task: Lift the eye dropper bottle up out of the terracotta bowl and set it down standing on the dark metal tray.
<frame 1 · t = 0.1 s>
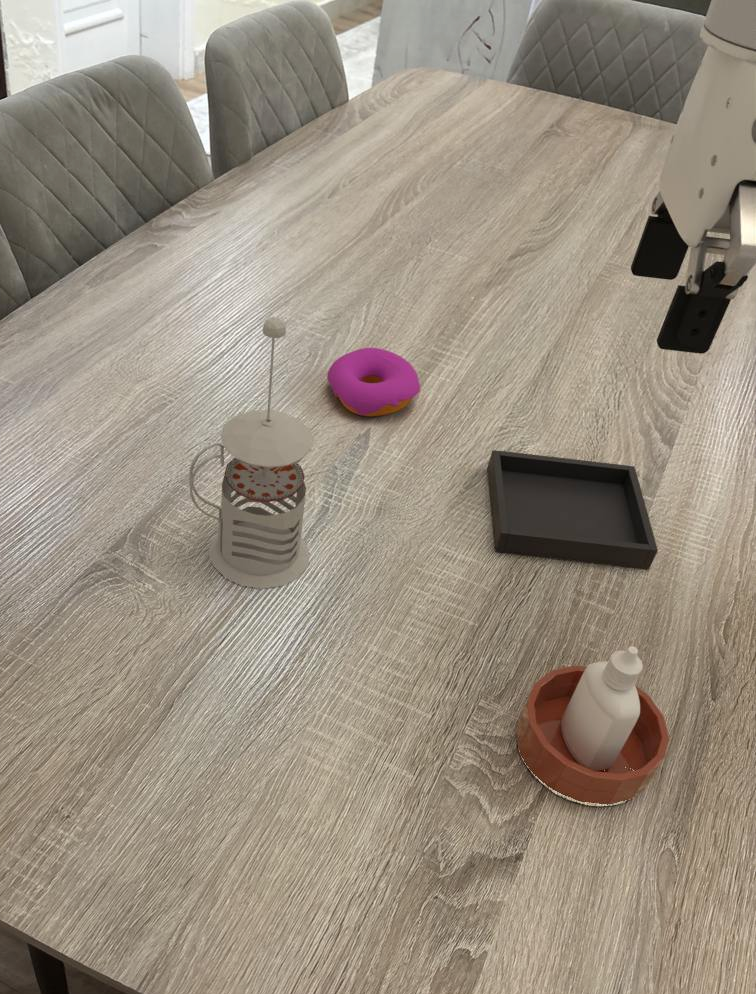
hand: (665, 310, 62), 33 cm above the table, tool pointing down, fingers open, 9 cm apart
eye dropper bottle: (583, 746, 78), resting on bowl
donut: (370, 399, 111), on the table
french press: (250, 554, 91), on the table
bowl: (582, 748, 78), on the table
tray: (564, 516, 99), on the table
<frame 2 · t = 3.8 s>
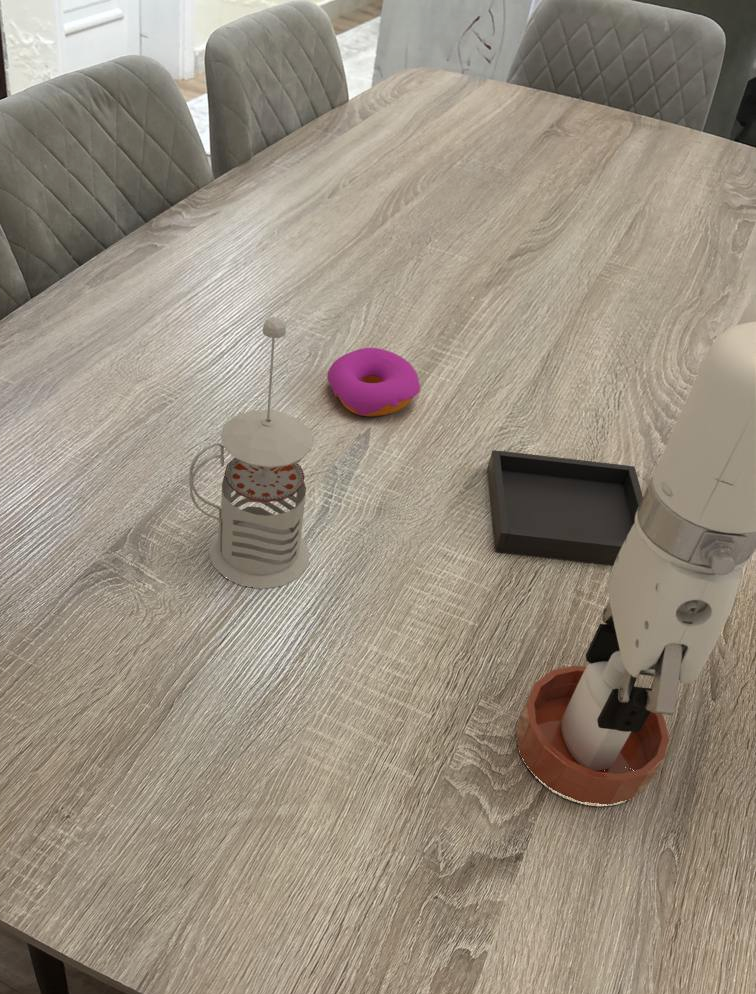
hand: (611, 692, 73), 8 cm above the table, tool pointing down, fingers closed on eye dropper bottle, 5 cm apart
eye dropper bottle: (583, 746, 78), resting on bowl, touching gripper
everything else where it was.
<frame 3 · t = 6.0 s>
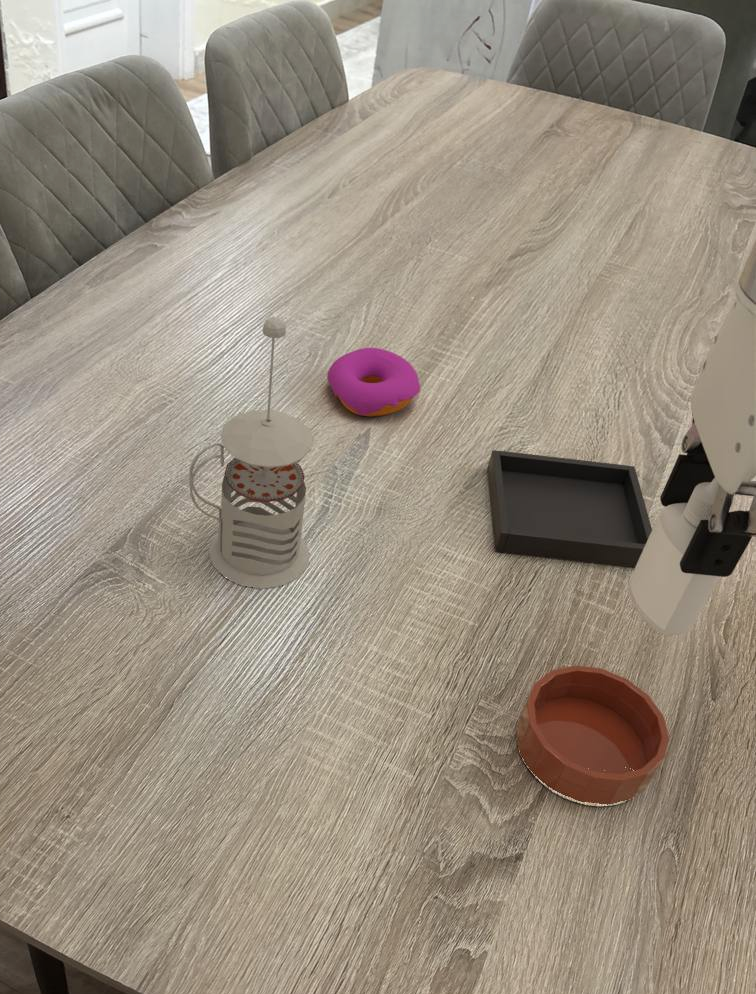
hand: (693, 535, 62), 23 cm above the table, tool pointing down, fingers closed on eye dropper bottle, 5 cm apart
eye dropper bottle: (656, 611, 67), point 16 cm above the table, touching gripper
everything else where it was.
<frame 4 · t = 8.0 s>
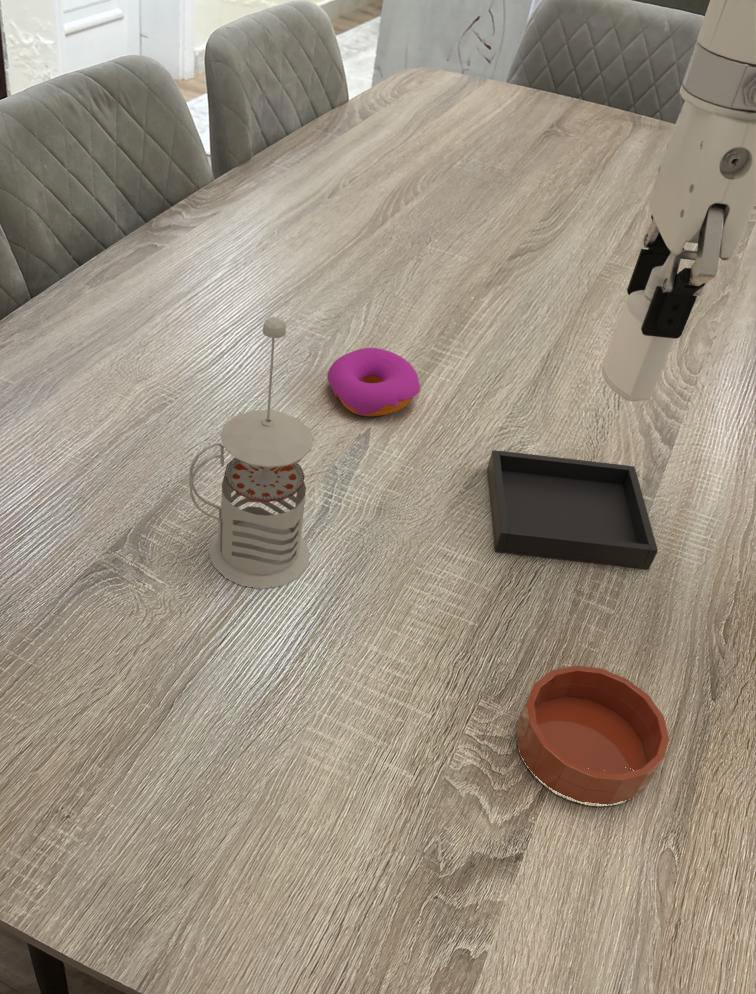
hand: (652, 313, 78), 25 cm above the table, tool pointing down, fingers closed on eye dropper bottle, 5 cm apart
eye dropper bottle: (624, 387, 84), point 18 cm above the table, touching gripper
everything else where it was.
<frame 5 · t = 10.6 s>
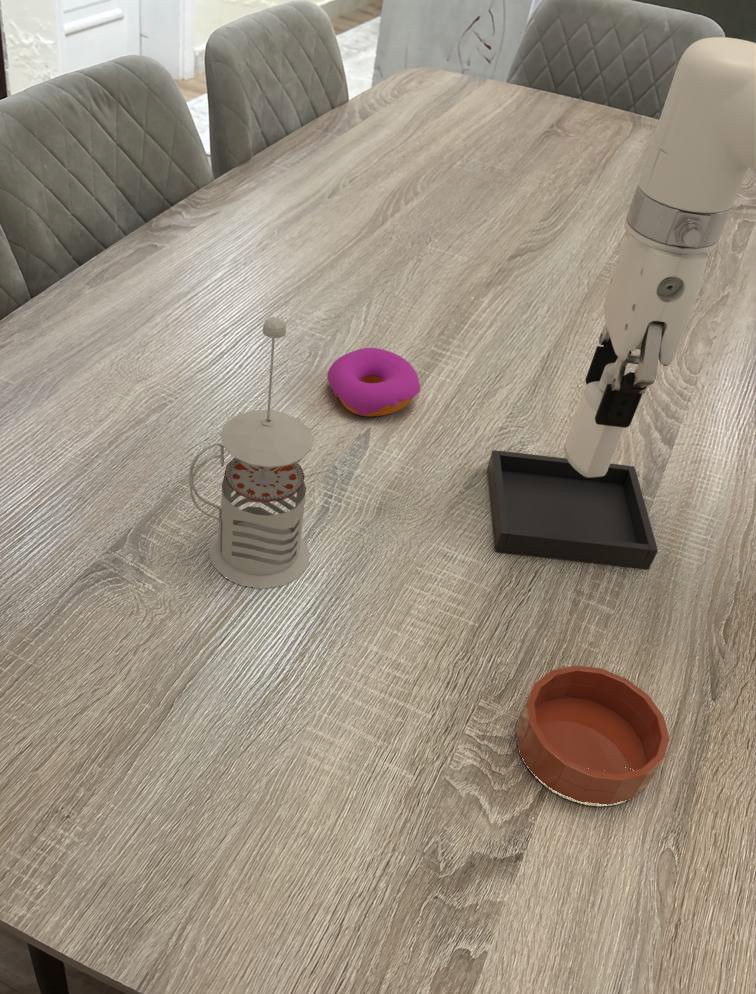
hand: (606, 402, 89), 14 cm above the table, tool pointing down, fingers closed on eye dropper bottle, 5 cm apart
eye dropper bottle: (583, 463, 94), point 7 cm above the table, touching gripper
everything else where it was.
when the fingers open (8 cm above the table, at t = 12.6 s): eye dropper bottle stays where it is, resting on tray.
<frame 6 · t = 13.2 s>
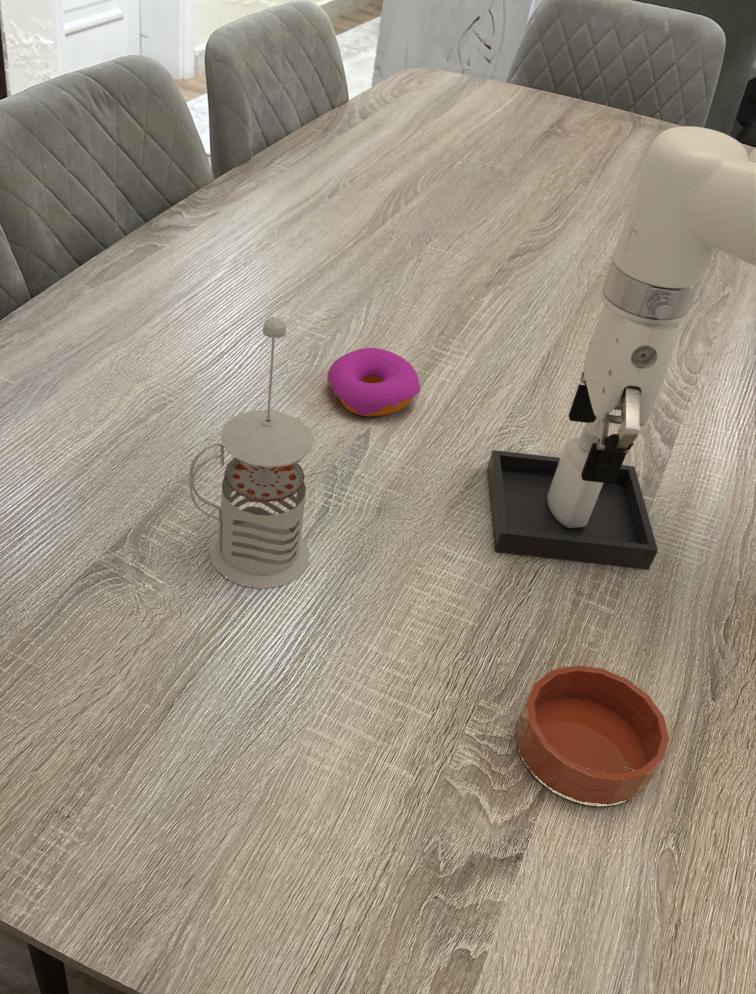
hand: (590, 449, 93), 9 cm above the table, tool pointing down, fingers open, 9 cm apart
eye dropper bottle: (565, 514, 99), resting on tray
everything else where it was.
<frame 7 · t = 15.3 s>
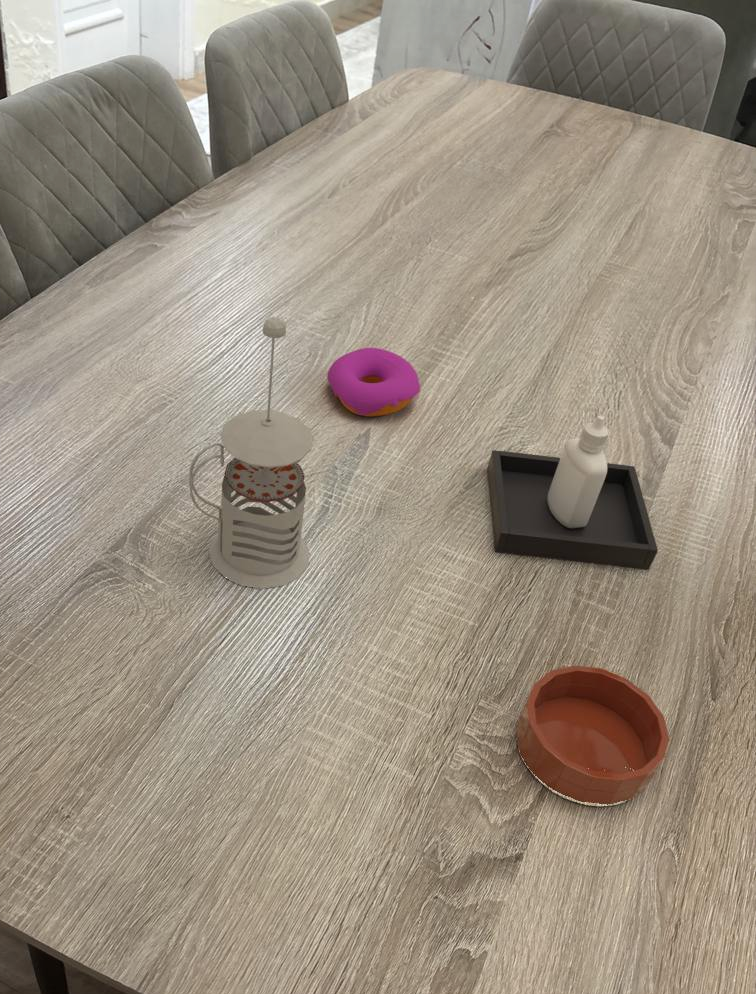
nothing on the table moved.
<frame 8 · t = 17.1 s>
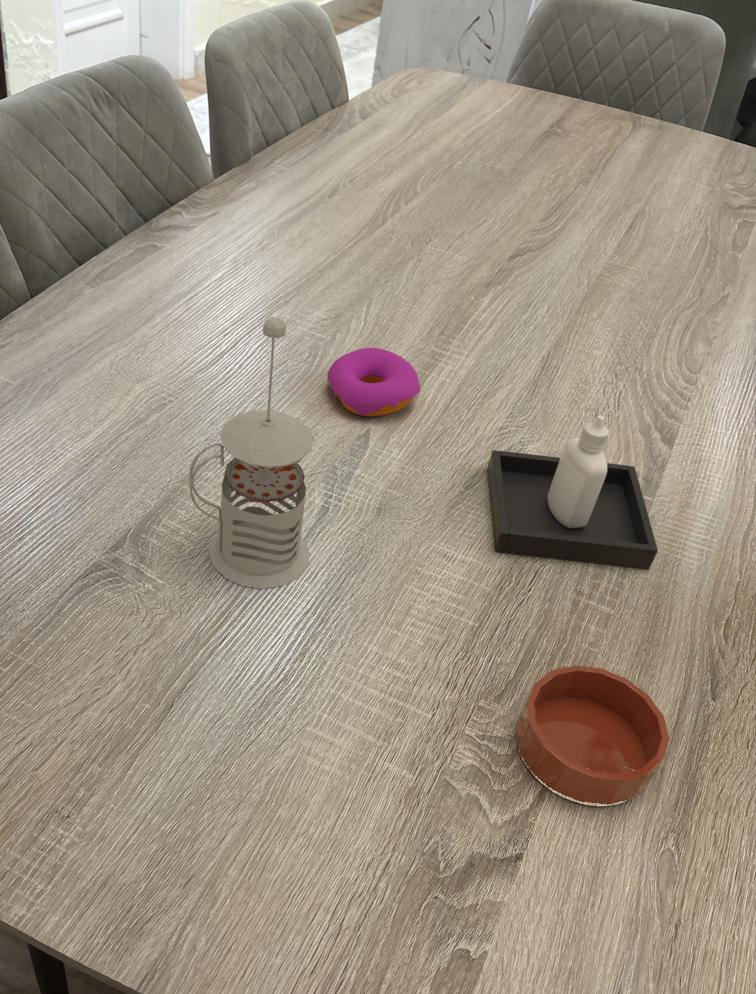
nothing on the table moved.
at the end: eye dropper bottle inside the target area in the tray (0.0 cm from its centre), point 0.4 cm above the tray's base; eye dropper bottle tilted 0°; the gripper is holding nothing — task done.
